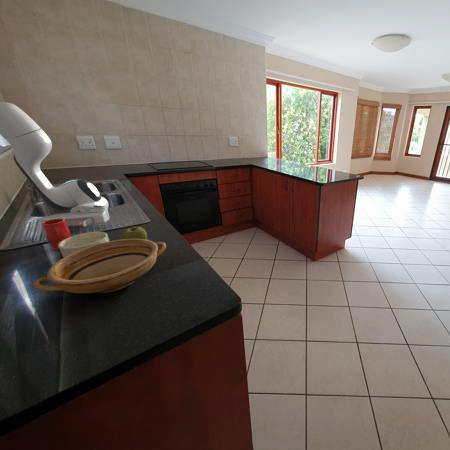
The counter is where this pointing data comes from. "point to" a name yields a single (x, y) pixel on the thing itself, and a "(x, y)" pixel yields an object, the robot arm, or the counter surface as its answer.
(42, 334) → the counter surface
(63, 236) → the fries cup
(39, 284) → the wicker basket
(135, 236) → the apple
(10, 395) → the counter surface
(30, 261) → the counter surface
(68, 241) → the serving bowl
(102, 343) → the counter surface
